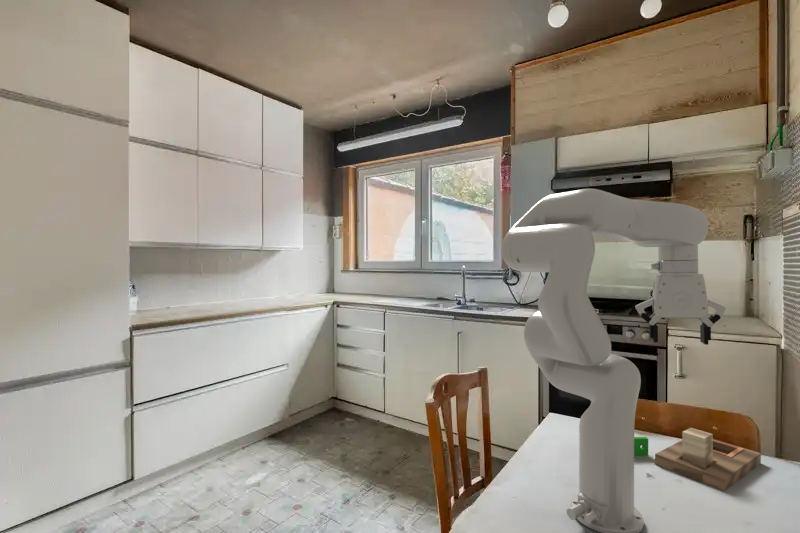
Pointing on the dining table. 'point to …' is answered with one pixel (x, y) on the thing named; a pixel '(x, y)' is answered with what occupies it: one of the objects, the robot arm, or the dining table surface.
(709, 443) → the maple peg
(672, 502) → the dining table surface
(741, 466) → the socket plate
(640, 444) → the pipe clamp
